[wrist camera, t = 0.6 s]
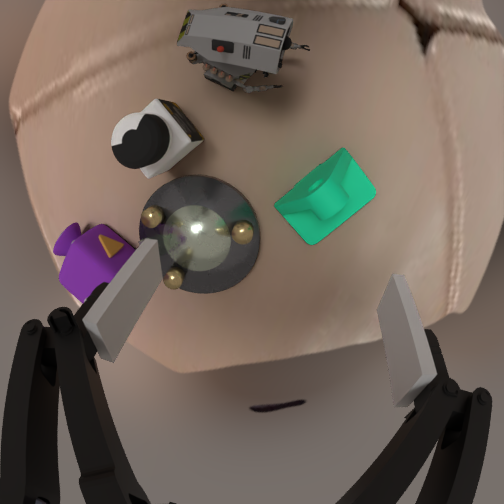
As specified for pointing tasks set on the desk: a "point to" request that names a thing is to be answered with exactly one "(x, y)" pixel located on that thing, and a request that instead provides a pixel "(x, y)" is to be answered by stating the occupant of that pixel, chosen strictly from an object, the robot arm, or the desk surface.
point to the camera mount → (326, 197)
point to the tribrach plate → (201, 233)
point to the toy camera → (90, 258)
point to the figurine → (236, 44)
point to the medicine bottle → (154, 138)
